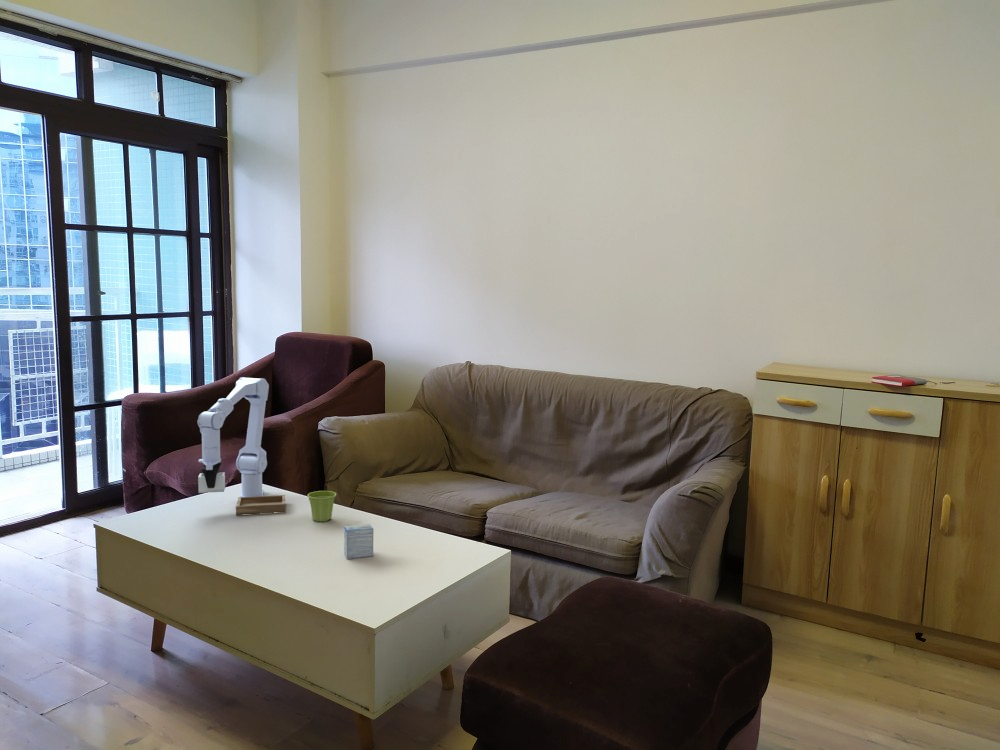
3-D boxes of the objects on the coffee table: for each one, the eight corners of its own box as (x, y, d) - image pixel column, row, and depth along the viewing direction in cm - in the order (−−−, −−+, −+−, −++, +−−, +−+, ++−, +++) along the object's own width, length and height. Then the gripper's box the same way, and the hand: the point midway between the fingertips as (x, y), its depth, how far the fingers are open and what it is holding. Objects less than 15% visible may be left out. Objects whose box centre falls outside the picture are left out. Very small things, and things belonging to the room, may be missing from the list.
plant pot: (306, 516, 251) (306, 491, 250) (335, 514, 254) (335, 489, 253) (308, 524, 242) (308, 498, 241) (337, 522, 245) (337, 497, 244)
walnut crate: (238, 505, 262) (238, 497, 261) (285, 502, 266) (285, 494, 266) (236, 515, 250) (235, 506, 250) (285, 512, 254) (285, 504, 254)
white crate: (200, 489, 253) (199, 473, 253) (225, 487, 255) (224, 472, 255) (198, 492, 248) (198, 477, 248) (223, 491, 251) (223, 475, 250)
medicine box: (370, 551, 219) (370, 523, 218) (373, 556, 215) (373, 527, 214) (343, 554, 216) (343, 525, 215) (346, 559, 212) (346, 530, 211)
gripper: (200, 442, 256) (201, 480, 257) (195, 451, 242) (196, 491, 244) (222, 442, 258) (223, 480, 259) (218, 450, 244) (219, 490, 246)
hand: (211, 485), depth 252 cm, fingers closed on white crate, 5 cm apart
